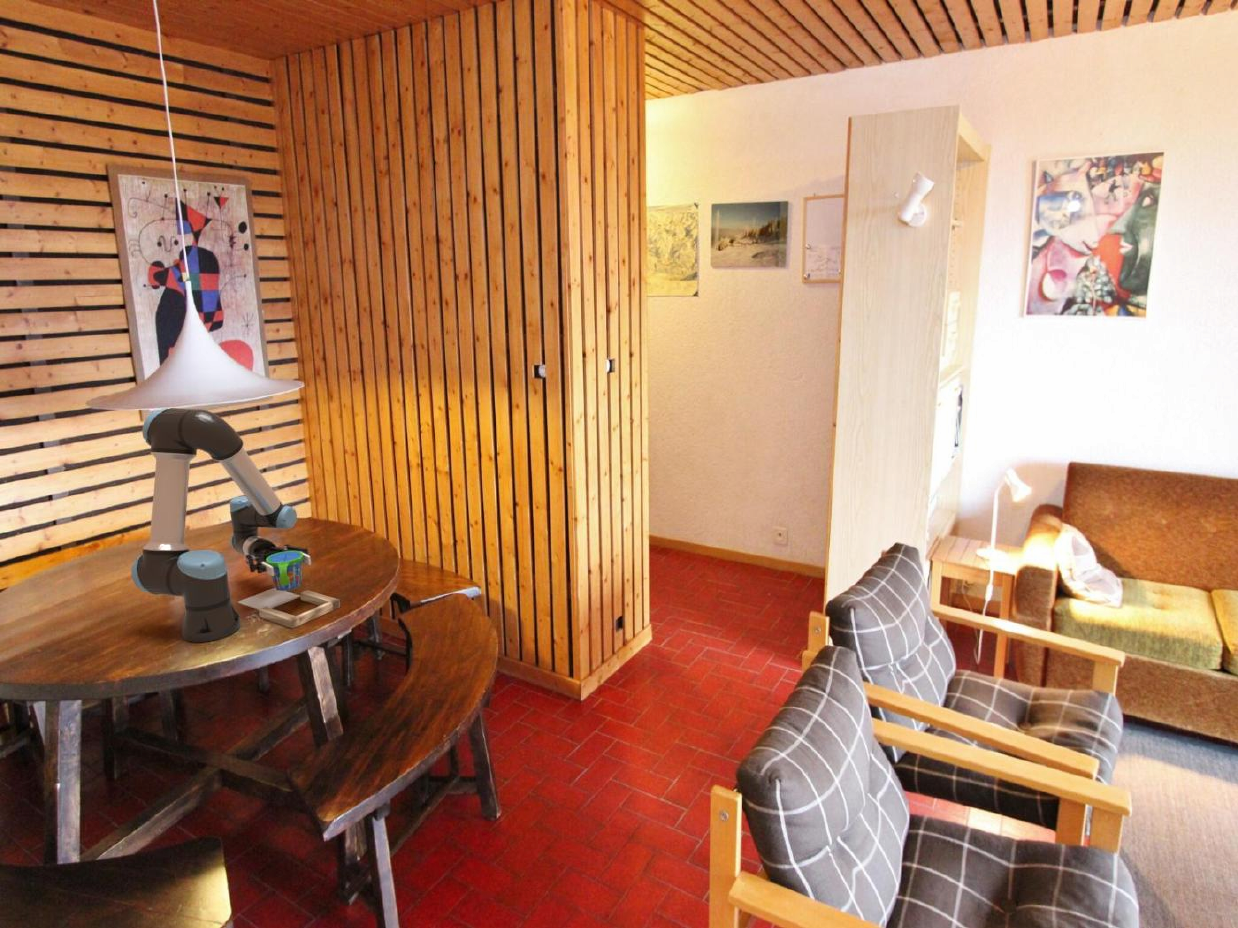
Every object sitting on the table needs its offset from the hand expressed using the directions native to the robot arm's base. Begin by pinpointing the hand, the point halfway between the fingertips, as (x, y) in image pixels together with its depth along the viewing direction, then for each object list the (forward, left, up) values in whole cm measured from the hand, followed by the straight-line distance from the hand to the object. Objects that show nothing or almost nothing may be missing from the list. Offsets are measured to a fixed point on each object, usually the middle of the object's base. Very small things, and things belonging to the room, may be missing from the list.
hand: (291, 565), depth 229 cm
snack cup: (+1, +4, -8) cm, 9 cm away
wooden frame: (-1, -3, -14) cm, 15 cm away
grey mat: (0, +14, -14) cm, 20 cm away
